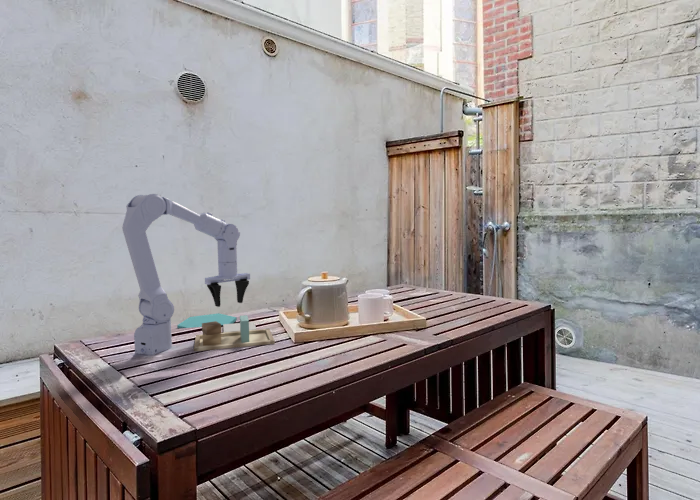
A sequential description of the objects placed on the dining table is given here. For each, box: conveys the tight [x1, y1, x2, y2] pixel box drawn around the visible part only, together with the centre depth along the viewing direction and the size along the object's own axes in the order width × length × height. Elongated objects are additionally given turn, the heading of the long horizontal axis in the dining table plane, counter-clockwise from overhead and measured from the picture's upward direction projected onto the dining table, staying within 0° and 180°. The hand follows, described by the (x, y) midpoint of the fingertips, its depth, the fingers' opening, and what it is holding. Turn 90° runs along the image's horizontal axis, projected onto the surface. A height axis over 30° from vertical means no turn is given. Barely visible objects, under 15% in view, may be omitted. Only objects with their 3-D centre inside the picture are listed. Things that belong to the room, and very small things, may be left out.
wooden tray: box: [193, 328, 276, 352], centre depth 130 cm, size 22×14×2 cm, turn 107°
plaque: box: [176, 312, 238, 329], centre depth 154 cm, size 18×2×20 cm
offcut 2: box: [202, 332, 222, 346], centre depth 128 cm, size 5×5×3 cm
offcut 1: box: [201, 321, 222, 335], centre depth 128 cm, size 4×5×2 cm
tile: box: [222, 321, 257, 333], centre depth 143 cm, size 10×10×2 cm
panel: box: [239, 314, 250, 343], centre depth 131 cm, size 2×7×6 cm, turn 16°
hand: (229, 304), depth 140 cm, fingers open, 7 cm apart
